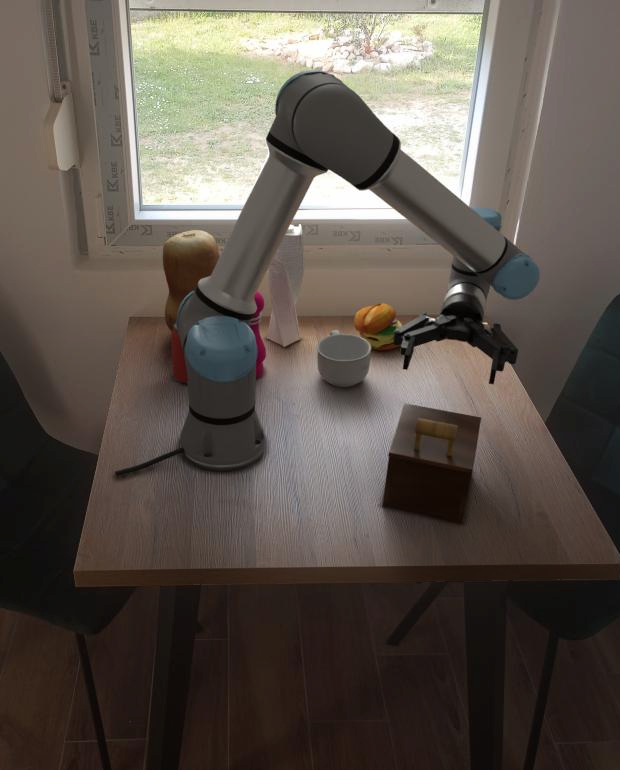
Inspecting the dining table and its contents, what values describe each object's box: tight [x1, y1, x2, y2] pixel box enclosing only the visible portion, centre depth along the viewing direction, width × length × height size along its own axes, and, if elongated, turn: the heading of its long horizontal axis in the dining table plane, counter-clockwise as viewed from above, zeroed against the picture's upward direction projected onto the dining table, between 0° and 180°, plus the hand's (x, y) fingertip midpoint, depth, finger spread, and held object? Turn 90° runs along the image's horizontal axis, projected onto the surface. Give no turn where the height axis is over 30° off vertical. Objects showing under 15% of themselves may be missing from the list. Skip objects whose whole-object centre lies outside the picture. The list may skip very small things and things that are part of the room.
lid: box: [388, 402, 482, 474], centre depth 126 cm, size 15×13×6 cm
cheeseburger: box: [354, 302, 403, 351], centre depth 175 cm, size 10×11×10 cm
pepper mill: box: [249, 290, 267, 379], centre depth 160 cm, size 7×7×20 cm
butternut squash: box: [162, 229, 220, 333], centre depth 170 cm, size 14×13×25 cm
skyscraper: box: [266, 223, 305, 348], centre depth 170 cm, size 8×8×28 cm
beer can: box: [170, 321, 188, 384], centre depth 160 cm, size 7×7×12 cm
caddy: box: [382, 456, 473, 525], centre depth 131 cm, size 14×13×11 cm
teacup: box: [316, 329, 372, 388], centre depth 162 cm, size 14×11×8 cm
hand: (448, 369), depth 126 cm, fingers open, 13 cm apart
